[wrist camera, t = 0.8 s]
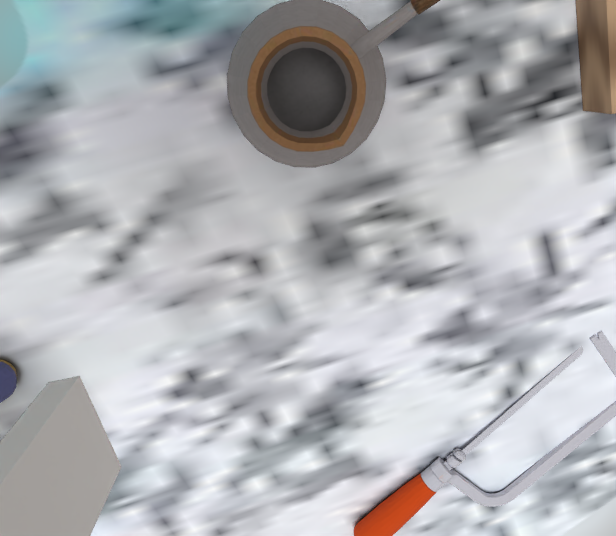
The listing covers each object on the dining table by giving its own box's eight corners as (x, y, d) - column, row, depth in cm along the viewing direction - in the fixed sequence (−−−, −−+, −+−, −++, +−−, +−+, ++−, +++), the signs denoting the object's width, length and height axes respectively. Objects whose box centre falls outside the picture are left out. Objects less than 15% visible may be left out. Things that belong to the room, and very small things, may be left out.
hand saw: (601, 329, 45) (665, 390, 48) (581, 314, 48) (642, 372, 50) (353, 546, 52) (419, 589, 55) (349, 521, 55) (412, 563, 58)
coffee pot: (290, 189, 42) (282, 246, 28) (201, 68, 39) (141, 64, 25) (521, 23, 38) (650, -8, 24) (443, -129, 34) (538, -272, 20)
